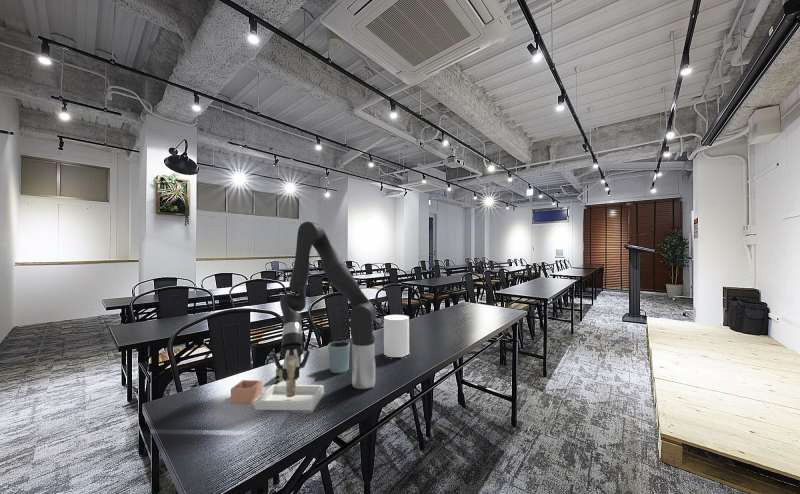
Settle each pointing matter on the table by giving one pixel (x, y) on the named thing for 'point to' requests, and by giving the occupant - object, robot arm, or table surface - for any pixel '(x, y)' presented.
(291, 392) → the dowel pin
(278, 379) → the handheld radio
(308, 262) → the robot arm
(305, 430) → the table surface
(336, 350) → the teal cup
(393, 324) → the canister
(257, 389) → the pot
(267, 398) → the tray
